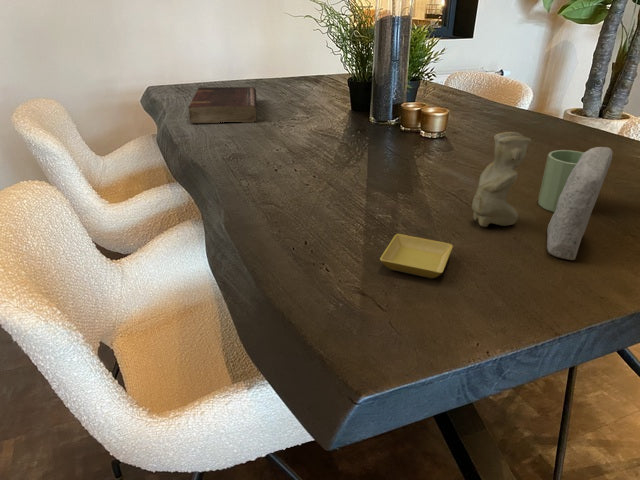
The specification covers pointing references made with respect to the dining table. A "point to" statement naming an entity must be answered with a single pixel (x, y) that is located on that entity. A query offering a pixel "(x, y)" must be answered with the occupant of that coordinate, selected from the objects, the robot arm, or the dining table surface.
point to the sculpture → (499, 181)
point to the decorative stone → (577, 202)
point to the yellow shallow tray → (416, 256)
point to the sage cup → (556, 176)
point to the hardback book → (223, 105)
